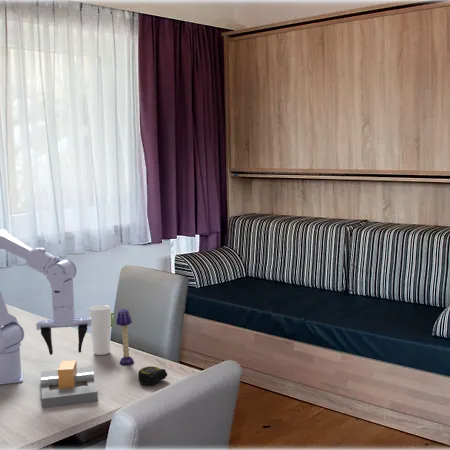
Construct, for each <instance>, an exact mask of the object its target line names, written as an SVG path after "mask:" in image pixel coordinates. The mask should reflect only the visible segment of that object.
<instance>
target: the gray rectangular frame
mask: <svg viewBox="0 0 450 450" xmlns="http://www.w3.org/2000/svg"><path fill="white" fill-rule="evenodd" d="M87 372H93V369H92V366H91V365H90V366H89V365H88V366H81V367H77V374H78V373H87ZM53 376H58V369H55V370H46V371H40V379H41V378H45V377H53ZM84 382H85V386H84V385H83V386H75V387H74V388H66V389H59V388H57V389H52V390H51V389H50V387H52V386H59V385H58V384H52V385H43V386H41V388H40V389H41V406H42V409H46V408H55V407H63V406H70V405H71V406H72V405H77V404H83V403H84V404H85V403H92V402H93V403H94V402H98V401H99V393H98V389H97V384H96V381H95V378H94V379H93V380H84V381H77V383H84Z"/></svg>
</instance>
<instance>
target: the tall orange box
mask: <svg viewBox="0 0 450 450" xmlns="http://www.w3.org/2000/svg"><path fill="white" fill-rule="evenodd" d="M77 368H78V367H77V360H76V359H74V360H61V362H60V364H59V366H58V368H57V370H58V385H57V386H58V389H66V388H74V387H76V385H75V384H77V383H78V382H77V381H76V382H74V377H75V374H77Z"/></svg>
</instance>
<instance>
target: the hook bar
mask: <svg viewBox="0 0 450 450" xmlns="http://www.w3.org/2000/svg"><path fill="white" fill-rule="evenodd" d="M93 379H94V380H95V373H94V371H92V372H87V373H78V374H75V377H74V382H76V381H84V380H93ZM40 382H41V383H40V385H41V386H43V385H52V384H58V376H53V377H45V378H41V377H40ZM84 382H85V381H84ZM52 386H53V385H52Z"/></svg>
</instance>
